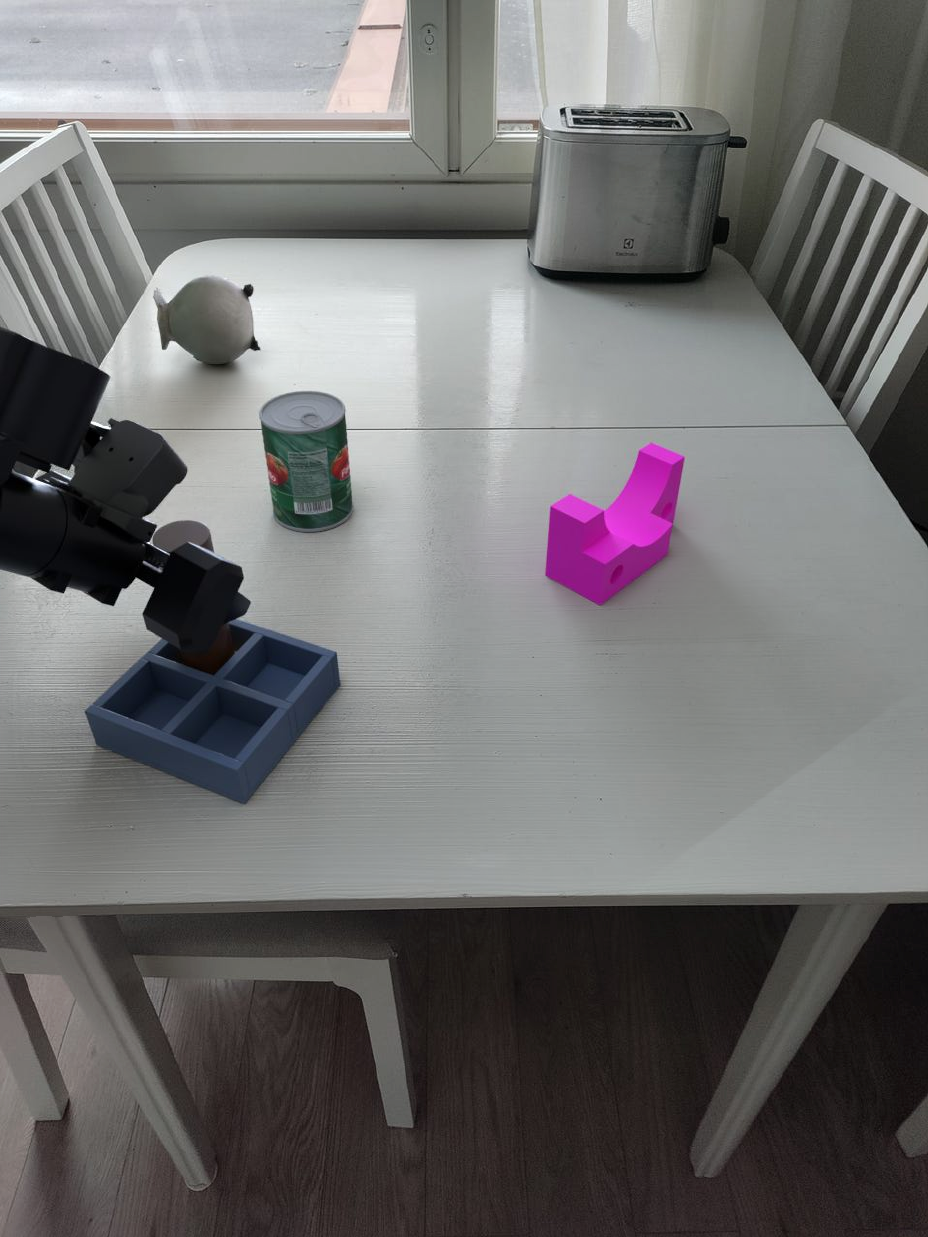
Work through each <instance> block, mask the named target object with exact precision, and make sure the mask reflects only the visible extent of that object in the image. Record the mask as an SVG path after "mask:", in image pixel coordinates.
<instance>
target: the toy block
mask: <svg viewBox="0 0 928 1237" xmlns="http://www.w3.org/2000/svg"><path fill="white" fill-rule="evenodd" d="M685 458H686V456H684V455H682V454H680V453H678V452H675V451H672V450H670V449H668V448H666V447H663V446H661V445H658V444H656V443H654V442H650V443H648V444H647V445H645V446H643V447H642V448H640V449H639V450H638V452H637V457H636V460H635V463H634V465H633V468H632V471H631V472H630V476H629V478H628V480H627V481H626V483H625V485H624V486H623V488H622V490H621V492H619V494H618V496H617V497H616V499H615V500H614V501H613V502H612V503H611V504H610V505H609V506H608V507H607V508H606V509H605V510H604V509H602V508H600V507H598V506H596V505H594V504H592V503H590V502H588V501H586V500H583V499H581V498H580V497H578V496H576V495H573V494H571V493H569V494H567V495H565V496H564V497H563V498H561V499H559V500H558V501H556V502H554V503H553V504H551V505H550V506H549V516H548V517H549V519H548V531H547V544H546V558H545V559H546V560H545V561H546V562H545V572H544V575H545V576H546V577H548V578H549V579H551V580H553V581H555V582H556V583H559V584H560V585H562V586H564V587H566V588H567V589H569V590H571V591H573V592H575V593H576V594H579V595H580V596H582V597H584V598H586V599H588V600H590V601H591V602H593V603H594V604H597V605H598V606H601V605H603V604H604V603H605V602H607V601H609V599H611V598H613V596H615V595H616V594H617V593H619V592H620V591H622V590H623V589H624V588H625V587H627V586H628V585H630V584H631V583H632V582H633V581H635V580H636V579H637V578H639V577H640V576H641V575H643V574H644V573H645V572H647V571H648V570H649V569H651V568H652V567H653V566H655V565H656V564H658V563H659V562H661V560H662V559H664V558H665V557H667V556H668V553H669V549H670V541H671V536H672V532H673V525H674V523H675V522H674V521H675V515H676V510H677V504H678V498H679V492H680V488H681V481H682V476H683V470H684V465H685Z"/></svg>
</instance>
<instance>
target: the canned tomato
mask: <svg viewBox="0 0 928 1237" xmlns="http://www.w3.org/2000/svg"><path fill="white" fill-rule="evenodd" d="M258 416H259V417H258V418H259V421H260V426H261V435H262V442H263V449H264V455H265V463H266V470H267V477H268V482H269V490H270V492H269V493H270V495H271V496H270V497H271V498H270V499H271V504H272V513H273V514H272V515H273V518H274V519H275V521H276V522H277V523H278V524H279V525H280V526H282V527H284V528H286V529H288V530H291V531H296V532H300V533H316V532H323V531H327V530H331V529H334V528H336V527H339V526H340V525H341V524H343V523H344V522H346V521H347V520H348V519H349V518H350V517H351V516H352V513H353V512H354V503H353V490H352V481H351V479H352V478H351V467H350V455H349V445H348V443H349V442H348V430H347V428H348V427H347V420H346V405H345V404H344V402H343V401H342V399H341V398H339V397H337V396H335V395H333V394H330V393H328V392H325V391H324V392H323V391H317V390H297V391H290V392H286V393H283V394H279V395H276V396H275V397H274V396H273V397H272V398H270V399H269V400H267V401H266V402H264V403H263V405H262V406H261V407H260V409H259V411H258Z"/></svg>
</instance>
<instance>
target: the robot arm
mask: <svg viewBox="0 0 928 1237" xmlns="http://www.w3.org/2000/svg"><path fill="white" fill-rule="evenodd" d="M110 380H111V375H110V374H108V372H107V373H106V372H105V371H104V370H102V369H100V368H99V367H96V366H95V365H93V364H91V363H89V362H87V361H85V360H83V359H80V358H78V357H76V356H73V355H70V354H67V353H65V352H61V351H59V350H56V349H53V348H51V347H49V346H45V345H43V344H41V343H39V342H36V341H34V340H32V339H31V338H29V337H27V336H25V335H23V334H22V333H19V332H16V331H14V330H11V329H8V328H6V327H3V326H0V571H3V572H8V573H11V574H16V575H19V576H23V577H26V578H30V579H31V580H33V581H35V582H36V583H38V584H40V585H41V586H42V587H44V588H46V589H48V590H49V591H52V592H56V593H59V594H65V592H66V590H67V588H69V589H72V590H76V591H80V592H83V593H84V594H86V595H87V596H89V597H91V598H92V599H94V600H96V601H97V602H99V603H101V604H103V605H106V606H111V607H115V605H116V603H117V601H118V599H119V596H120V594H121V593H122V590H127V589H128V588H129V587H130V586H131V585H132V584H133V582H134V581H135V580H136V579H137V580H140V581H141V582H143V583H144V584H145V585H148V586H150V587H151V588H153V590H152V591H151V594H150V595H149V598H148V601H147V602H146V605H145V607H144V609H143V612H142V613H141V614H142V618H143V621H144V625H145V628H146V629H145V630H147V631H149V632H150V633H152V634H154V635H156V636H157V637H159V638H160V639H164V640H165V641H167V642H169V643H170V644H172V645H174V646H175V647H177V648H179V649H180V650H183V651H187V652H192V653H197V654H203V653H205V652H207V651H209V650H211V648H212V646H213V644H214V641H215V639H216V637H217V635H218V633H219V631H220V629H221V626H222V625H224V624H226V623H228V622H230V621H233V620H235V619H239V618H241V617H243V616H245V615H246V614H247V613H248V610H249V609H250V607H251V604H252V601H251V600H250V599H249V598H247V597H246V596H245V595H243V594H242V593H241V592H240V591H239V590H240V588H241V586H242V584H243V581H244V579H245V576H244V571H243V567H242V566H240V565H239V564H236V563H235V562H233V561H231V560H229V559H228V558H225V557H223V556H221V555H219V554H218V553H216V552H215V551H214V552H212V551H209V550H207V549H205V548H203V547H200V546H198V545H195V544H193V543H190V542H186V543H184V544H182V545H181V546H179V547H177V548H176V549H174V550H172V551H171V553H170V554H168V553H167V552H165V551H163V550H161V549H159V548H157V547H155V546H154V545H153V543H150V542H151V541H152V539H153V535H154V534H155V532H156V531H157V527H158V524H156V523H154V522H152V521H151V520H148V519H146V518H144V517H147V516H149V515H152V513H154V512H155V510H156V509H158V507H159V505H161V503H162V502H163V501H164V500H165V498H166V497H167V496H169V494H170V493H171V491H172V490H173V489H174V488H175V487H176V485H179V484H182V482H183V481H184V480H185V478H186V477H187V475H188V466H187V465H186V463H185V462H184V461H183V459H182V458H181V457H180V456H179V455H178V453H177V452H176V451H175V449H174V448H173V447H172V446H171V444H169V442H168V441H167V440H166V438H165V437H164V436H163V435H162V434H161V433H159V432H157V431H155V430H152V429H150V428H149V427H146V426H143V425H141V424H140V423H137V422H136V421H132V420H130V419H123V420H120V421H119V420H118V419H115V418H113V417H110V418H109V419H108V420H107V424H108V425H109V426H107V425H102V424H100V423H98V422H95V421H93V419H94V416H95V414H96V413H97V410H98V408H99V404H100V402H101V400H102V398H103V396H104V393H105V391H106V390H107V387H108V384H109V383H110V382H109V381H110ZM17 462H18V463H21V464H24V465H26V466H29V467H31V468H34V469H35V470H39V471H40V472H41V471H42V472H44V473H43V474H40V475H39V476H36V477H35V478H32V477H30V476H27V475H24V474H22V473H19V472H16V471H14V468H15V465H16V463H17ZM53 466H55V467H57V468H61V469H63V470H66V471H69V472H70V470H71V467H72V466H73V467H74V468H73V473H74V475H73V476H72V477H70V476H67V475H65V474H63V473H60V472H57V471H55V470H51V469H52V467H53ZM159 567H161V568H163V570H162V571H161V570H159Z"/></svg>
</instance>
